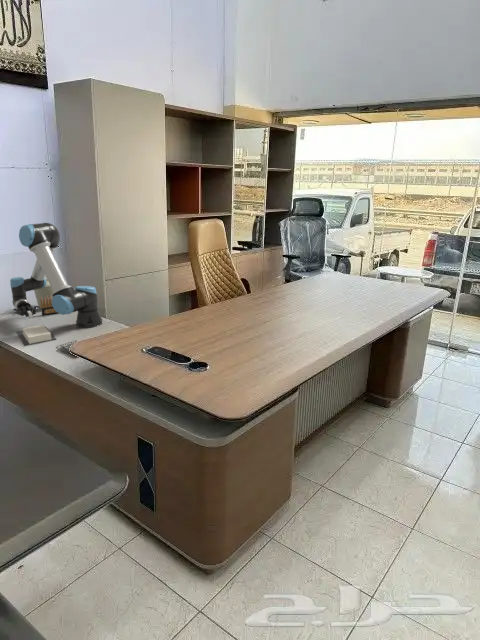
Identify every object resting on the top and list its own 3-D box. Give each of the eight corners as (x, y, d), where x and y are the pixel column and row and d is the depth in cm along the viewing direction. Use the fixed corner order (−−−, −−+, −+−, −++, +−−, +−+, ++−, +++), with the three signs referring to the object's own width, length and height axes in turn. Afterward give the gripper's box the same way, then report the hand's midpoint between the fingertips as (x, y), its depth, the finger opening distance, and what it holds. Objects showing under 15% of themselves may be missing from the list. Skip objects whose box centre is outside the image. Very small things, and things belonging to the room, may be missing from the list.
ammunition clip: (59, 312, 287) (57, 295, 283) (60, 313, 285) (57, 295, 282) (41, 315, 281) (39, 297, 278) (42, 316, 280) (39, 297, 276)
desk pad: (15, 332, 249) (15, 331, 249) (45, 327, 258) (45, 326, 258) (24, 345, 229) (24, 344, 228) (56, 339, 237) (56, 338, 237)
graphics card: (54, 345, 220) (76, 339, 229) (55, 352, 222) (77, 345, 230) (71, 354, 210) (93, 347, 218) (72, 361, 211) (94, 353, 220)
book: (22, 328, 243) (28, 337, 229) (43, 324, 249) (50, 333, 235) (22, 334, 244) (29, 343, 230) (44, 330, 250) (51, 339, 236)
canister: (53, 302, 311) (49, 273, 305) (69, 306, 302) (65, 276, 295) (29, 308, 297) (25, 277, 291) (45, 312, 287) (40, 280, 281)
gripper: (35, 310, 265) (44, 320, 247) (12, 314, 258) (19, 324, 240) (34, 298, 263) (42, 307, 245) (10, 302, 256) (17, 311, 237)
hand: (31, 316), depth 242 cm, fingers closed
